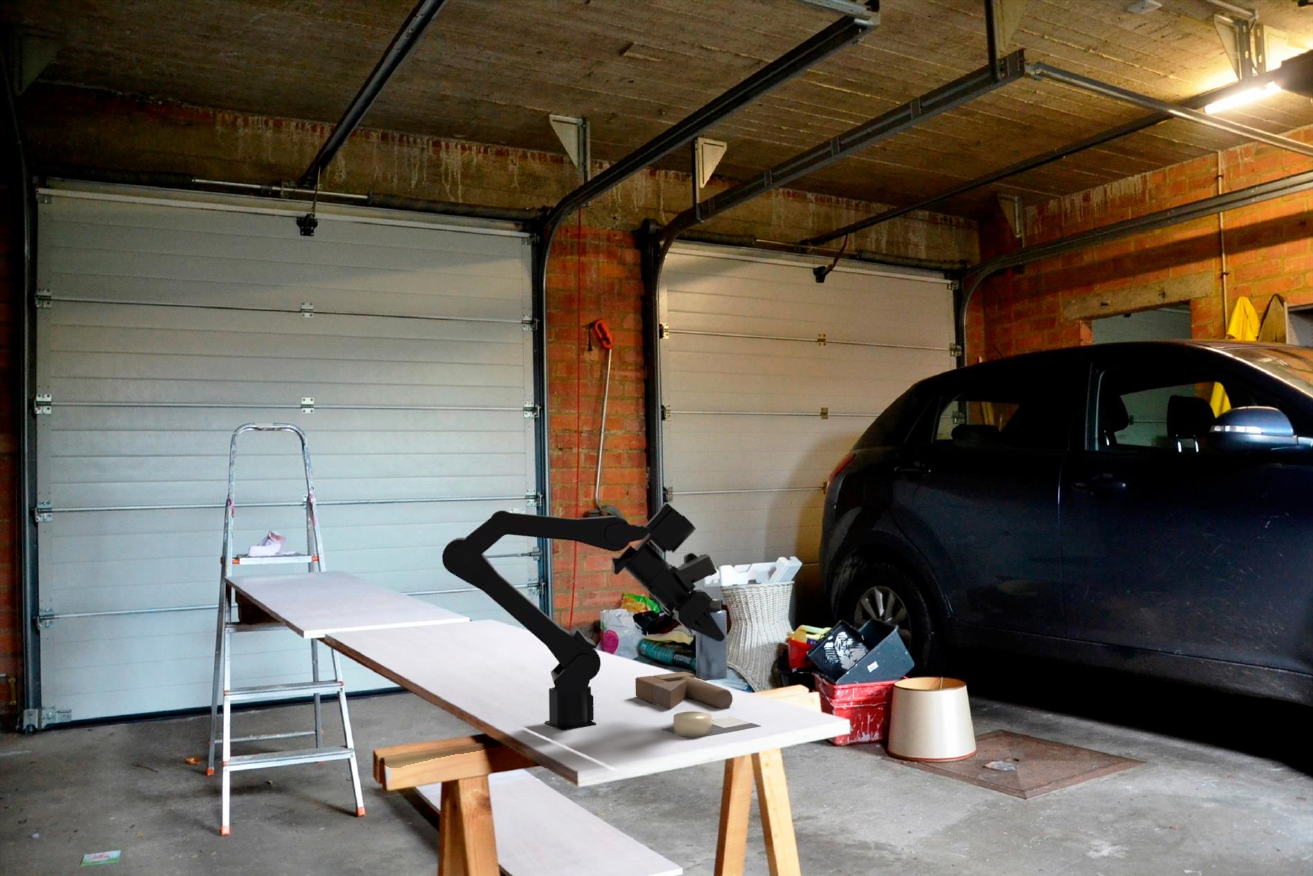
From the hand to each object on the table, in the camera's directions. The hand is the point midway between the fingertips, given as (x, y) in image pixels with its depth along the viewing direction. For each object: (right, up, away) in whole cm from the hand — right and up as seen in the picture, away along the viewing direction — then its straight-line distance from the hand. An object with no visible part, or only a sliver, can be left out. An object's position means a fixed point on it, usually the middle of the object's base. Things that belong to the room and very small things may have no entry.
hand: (719, 637), depth 170 cm
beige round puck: (-5, -13, -11) cm, 18 cm away
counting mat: (-2, -13, -9) cm, 16 cm away
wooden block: (-10, -13, +20) cm, 26 cm away
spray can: (-1, -7, -1) cm, 7 cm away
